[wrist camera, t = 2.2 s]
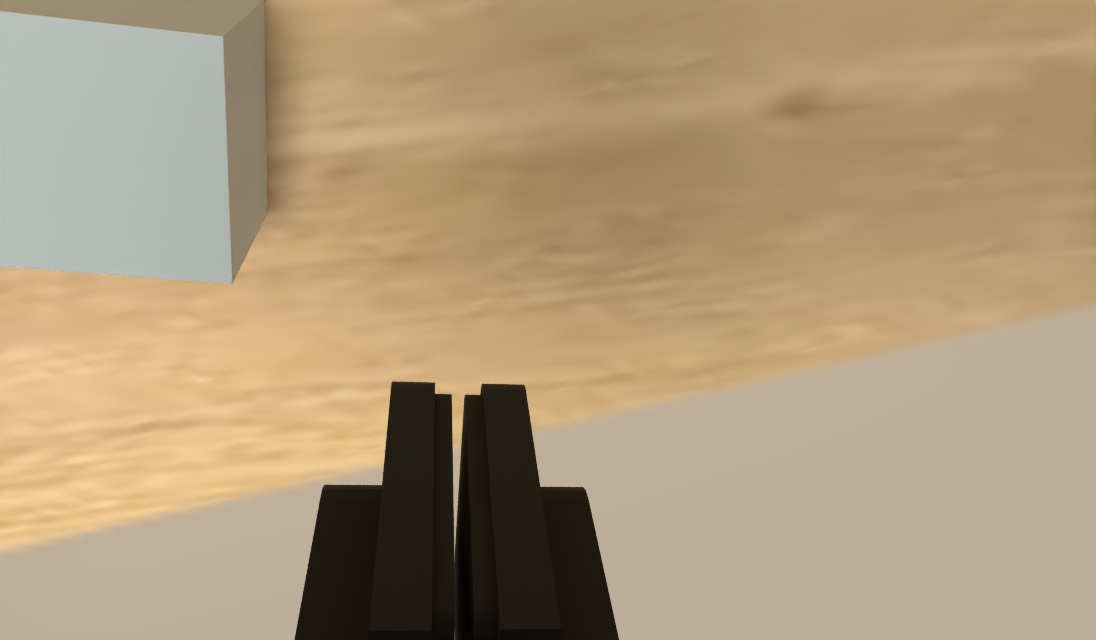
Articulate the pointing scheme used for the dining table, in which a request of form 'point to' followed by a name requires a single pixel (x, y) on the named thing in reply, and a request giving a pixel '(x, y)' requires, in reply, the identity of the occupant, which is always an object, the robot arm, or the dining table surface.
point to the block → (132, 136)
